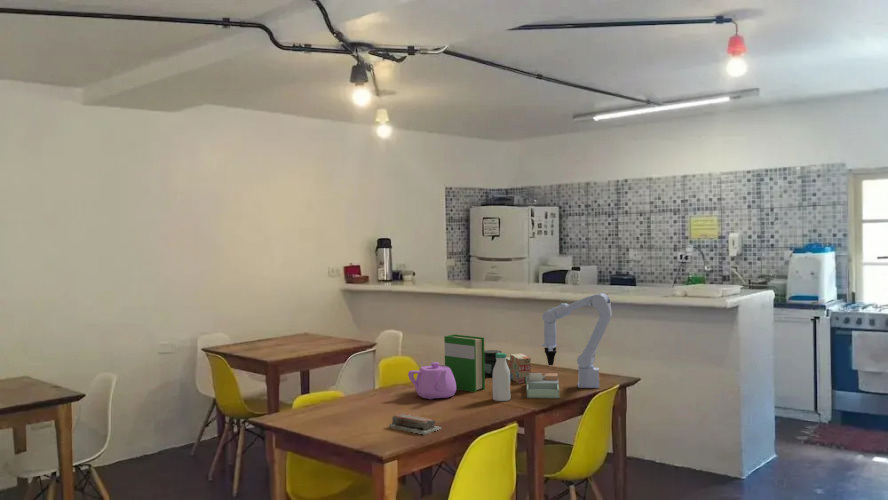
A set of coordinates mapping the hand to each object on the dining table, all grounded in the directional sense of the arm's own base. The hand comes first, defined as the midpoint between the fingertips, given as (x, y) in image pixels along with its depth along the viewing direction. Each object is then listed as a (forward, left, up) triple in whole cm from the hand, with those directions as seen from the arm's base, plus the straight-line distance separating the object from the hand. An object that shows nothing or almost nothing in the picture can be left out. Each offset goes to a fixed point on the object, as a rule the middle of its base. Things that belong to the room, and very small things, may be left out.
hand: (550, 363), depth 339 cm
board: (+4, +10, -9) cm, 14 cm away
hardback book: (+40, +12, -10) cm, 43 cm away
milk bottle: (+22, +33, -10) cm, 41 cm away
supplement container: (+29, -19, -10) cm, 36 cm away
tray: (+4, +24, -9) cm, 26 cm away
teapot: (+51, +29, -10) cm, 59 cm away
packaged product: (+52, +80, -10) cm, 96 cm away
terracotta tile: (0, +8, -5) cm, 10 cm away
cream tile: (+7, +8, -5) cm, 12 cm away
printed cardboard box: (+16, -10, -10) cm, 21 cm away
